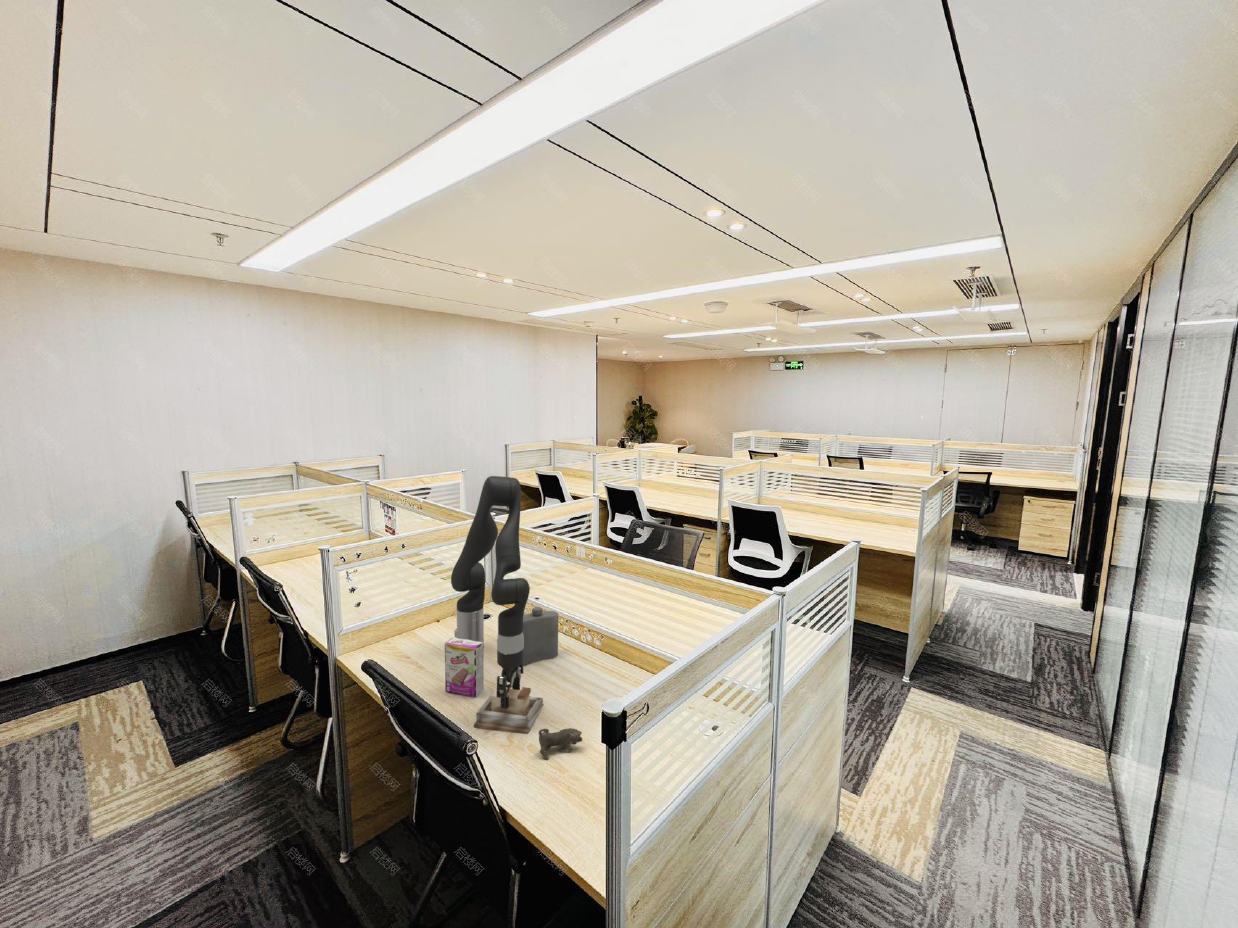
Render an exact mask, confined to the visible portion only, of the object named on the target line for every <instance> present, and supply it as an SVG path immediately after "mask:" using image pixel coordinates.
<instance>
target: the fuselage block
mask: <svg viewBox="0 0 1238 928" xmlns="http://www.w3.org/2000/svg"><path fill="white" fill-rule="evenodd" d="M531 689H532V688H531V687H525V686H523V687H522V688H520V690H514V689H512V688H510V692H509V707H508V708H507V709H504V708H501V698H498V697H497V687H496V688H495V690H493V692H494V693H493V694H492V695H491V711H493V712H500V713H507V714H514V715H521V716H527V714H528V712H529V696H530V694H531V693H532V692H531V691H532V690H531Z"/></svg>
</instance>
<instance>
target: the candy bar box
mask: <svg viewBox="0 0 1238 928" xmlns="http://www.w3.org/2000/svg"><path fill="white" fill-rule="evenodd" d="M483 646H484V648H485V645H484V643H483V642H478V641H473V640H467V639H462V638H457V637H455V636H453V637H451V638H450V639H449V640H447V641H446V642H445V643H444V672H445V675H444V676H445V679H444V682H445V687H444V688H445V692H446V693H452V694H456V695H462V696H465V697H471V698H477V697H478V696H479V695H480V694H481V693H482V692H483V691H484V689H485V688H484V687H485V685H484V680H485V679H484V670H485V669H484V664H485V663H484V659H485V658H484V654H485V653H484V652H485V651H484V648H483Z"/></svg>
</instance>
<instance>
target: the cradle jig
mask: <svg viewBox="0 0 1238 928" xmlns="http://www.w3.org/2000/svg"><path fill="white" fill-rule="evenodd" d="M493 693H494V691H492V692H491V693H490V694H489V695H488V697H487V698H486V700H484V702H483V703H482V704H481V706H480V708H479V709H478V710H477V711H476V717H475V718H476V719H475V720H476V721H475V722H474V723H473V728H475V729H476V728H477V729H482V730H490V731H497V732H508V733H517V734H526V735H529V733H530V731H531V729H532V727H533V726H534V723H535V722H536V720H537V718H538V716H539V714H540V713H541V710H542V708H543V707H544V698H543V697H538V696H530V695H529V712H528V714H527V716H521V715H514V714H507V713H500V712H493V711H491V695H492V694H493Z"/></svg>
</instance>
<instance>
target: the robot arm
mask: <svg viewBox="0 0 1238 928" xmlns="http://www.w3.org/2000/svg"><path fill="white" fill-rule="evenodd" d="M521 500H522V490H521V483H520V481H519V479H517V478H516V477H510V476H497V475H489V476H488V477H487V478H485V481H484V482H483V485H482V489H481V493H480V497H479V500H478V505H477V508H476V511H475V515H474V518H473V521H472V522H471V525H470V527H469V530H468V533H467V537H466V539H465V542H464V545H463V548H462V550H461V554H460V555H459V557H458V559H457V561H456V562H455V565H454V567H453V569H452V573H451V575H450V576H451V578H450V584H451V586H452V589H453V590H454V591H456V592H458V593H464V592H467V593H466V594H464V595H463V596H462V597H460V598H459V599H458V600H457V601H456V628H455V630H454V637H457V638H462V639H467V640H473V641H478V642H483V643H484V641H485V638H484V635H485V634H484V631H485V630H484V629H485V628H484V626H485V625H484V619H485V618H484V603H485V595H486V571H485V568H484V565H483V564H482V563H481V562H480V561H482V560H483V559H484V558H485V557H486V556H488V554H489V553H490V552H491V551H492V550H493V548H495V550H494V551H495V574H494V580H493V584H492V588H491V593H490V594H491V595H490V596H491V600H492V602H493V603H494V605H496V606H506V605H513V606H512V607H510V608H507V609H504V610H502V611H500V613H499V614H498V617H497V639H496V644H497V645H496V646H497V647H496V651H497V653H496V656H497V659H496V662H497V665H498V666H499V667H501V668H502V669H501V673H500V675H501V676H500V675H498V676H497V677H496V688H497V697H498V698H501V708H504V709H507V708H508V707H509V692H510V689H514V690H521V679H522V675H523V674H524V666H523V661H524V635H523V615H525V609H526V606H527V603H528V599H529V596H530V593H531V592H530V591H531V590H530V589H531V588H530V587H531V586H530V584H529V582H528V580H527V579H526V578H523V577H517V578H505V576H507V575H509V574H512V573H514V572H517V571H519V570H520V569H521V565H522V564H521V563H522V562H521V561H522V560H521V550H520V521H521V506H522V505H521V503H522V502H521ZM492 507H507V508H508V515H507V519H506V521H505V522H504V525H503V527H502V528H501V530H500V532H499V527H498V526H497V524H496V522H495V519H494V518H493V515H492V513H491V509H492ZM494 546H495V547H494ZM483 648H485V645H484V646H483ZM508 683H509V684H508Z"/></svg>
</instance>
